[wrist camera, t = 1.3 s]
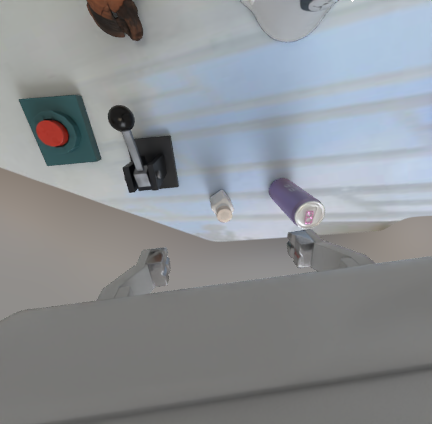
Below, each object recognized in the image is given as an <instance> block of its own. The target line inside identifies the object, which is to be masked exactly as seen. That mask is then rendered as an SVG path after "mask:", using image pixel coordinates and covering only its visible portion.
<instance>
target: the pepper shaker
mask: <svg viewBox="0 0 432 424" xmlns="http://www.w3.org/2000/svg"><path fill="white" fill-rule="evenodd" d="M210 203H211V208H212V210H213V212H214V213H215V214H216V215H217V218H218V220H219V221H220V222H224V223H226V222H228V221H230V220H231V219H232V212H233V211H234V208H233V205H232V203H231V200H230V198H229V197H228V196H227V194H226V193H225V192H224V191H223V190H220V191H219V192H217V193H216V194H214V195H213V196H212V197H211V198H210Z"/></svg>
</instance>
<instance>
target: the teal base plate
mask: <svg viewBox="0 0 432 424" xmlns="http://www.w3.org/2000/svg"><path fill="white" fill-rule="evenodd" d="M19 102H20V104H21V106H22V109H23V111H24V113H25V116H26V118H27V120H28V123H29V125H30V127H31V129H32V132H33V134H34V136H35V139H36V141H37V143H38V146H39V148H40V150H41V152H42V155H43V157H44V159H45V162H46V164H47V166H53V165H63V164H74V163H85V162H96V161H99V160H101V156H100V153H99V150H98V147H97V144H96V141H95V137H94V134H93V131H92V128H91V125H90V122H89V118H88V115H87V112H86V109H85V106H84V103H83V99H82V96H79V95H66V96H54V97H41V98H29V99H19ZM44 120H54V121H57V122H59V123H61V124H62V125H63V126H64V127H65V128H66V130H67V132H68V136H69V137H68V141H67V142H66V143H65V144H64V145H60V146H55V147H53V146H49V145H46V144H45V143H43V142H42V141H41V140H40V139H39V137H38V135H37V132H36V127H37V125H38V123H39V122H41V121H44Z"/></svg>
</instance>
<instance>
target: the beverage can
mask: <svg viewBox="0 0 432 424" xmlns="http://www.w3.org/2000/svg"><path fill="white" fill-rule="evenodd" d="M269 195H270V197H271V198H272V199H273V200H274V202H275V203H276V204H277V205H278V206H279V207H280V208H281V209H282V210H283V211H284V213H285V214H286V215H287V216H288V217H289V218H290V219H291V220H292V221H293V223H294V224H296V225H297V226H299V227H300V228H303V229H310V228H313V227H315V226H317V225H318V224H319V223H320V222H321V221H322V220H323V218H324V215H325V208H324V206H323V205H322V204H321V202H320V201H319V200H317V199H316V198H314V197H313V196H312V195H310V194H309V193H307V192H306V191H304V190H303V189H301V188H300V187H299V186H297V185H296V184H294V183H293V182H291V181H290V180H288V179H286V178H280V179H277V180H275V181H274V182H273V183H272V184H271V186H270V188H269Z"/></svg>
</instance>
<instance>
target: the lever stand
mask: <svg viewBox="0 0 432 424" xmlns="http://www.w3.org/2000/svg"><path fill="white" fill-rule="evenodd" d="M134 140H135V143H136V146H137V149H138V151H139V154H140V157H141V160H142V163H143V165H144V166H146V165H147V168H148V172H149V177H150V181H151V186H146V187H138V184H137V182H136V180H135V177H134V175H133V174H134V171H135V165H134V162H133V160H132V157H131V155H130V158H131V162H130V163H128V164H127V165H126V166H124V167H123V172H124V175H125V181H126V183H127V186H128V190H129V193H132V192H135V191H136V190H137V189H139V191H142V190H158V189H162V188H172V187H178V186H179V184H178V178H177V172H176V166H175V160H174V154H173V148H172V141H171V136H163V137H152V138H141V139H134ZM129 154H130V152H129Z"/></svg>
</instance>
